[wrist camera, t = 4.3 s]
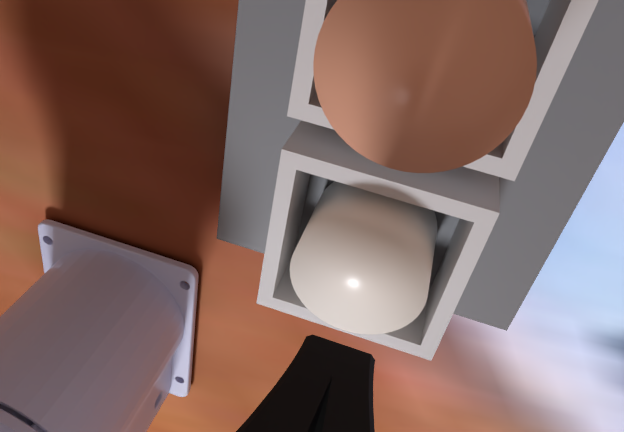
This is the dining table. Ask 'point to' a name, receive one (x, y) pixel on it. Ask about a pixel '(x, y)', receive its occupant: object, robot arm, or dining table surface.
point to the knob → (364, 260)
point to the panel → (421, 186)
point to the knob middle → (425, 78)
